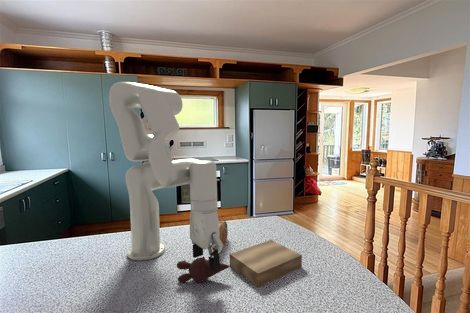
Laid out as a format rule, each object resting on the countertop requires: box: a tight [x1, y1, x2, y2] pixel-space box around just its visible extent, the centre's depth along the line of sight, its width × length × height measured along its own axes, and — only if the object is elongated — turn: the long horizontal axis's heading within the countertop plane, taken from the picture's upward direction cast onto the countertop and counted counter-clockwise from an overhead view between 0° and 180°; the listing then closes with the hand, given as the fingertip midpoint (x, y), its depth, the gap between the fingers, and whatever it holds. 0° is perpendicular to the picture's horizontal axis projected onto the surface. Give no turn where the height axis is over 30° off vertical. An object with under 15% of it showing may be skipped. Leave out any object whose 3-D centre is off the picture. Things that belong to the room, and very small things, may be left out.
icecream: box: [176, 255, 230, 284], centre depth 73 cm, size 7×7×15 cm
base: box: [229, 239, 303, 288], centre depth 80 cm, size 14×18×4 cm
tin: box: [211, 220, 229, 252], centre depth 95 cm, size 15×3×8 cm, turn 168°
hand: (205, 262), depth 73 cm, fingers open, 9 cm apart
